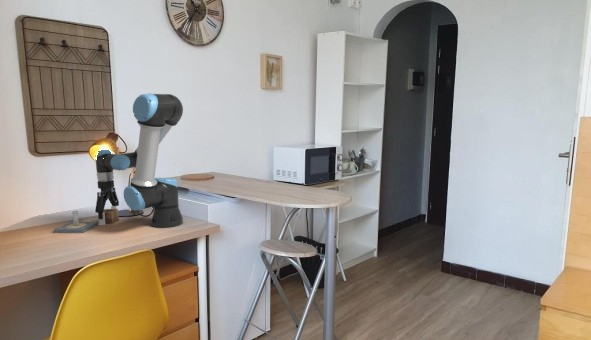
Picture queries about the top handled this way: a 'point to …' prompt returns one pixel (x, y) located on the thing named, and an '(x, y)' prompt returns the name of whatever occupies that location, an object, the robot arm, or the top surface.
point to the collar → (110, 216)
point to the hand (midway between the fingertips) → (108, 221)
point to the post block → (75, 225)
